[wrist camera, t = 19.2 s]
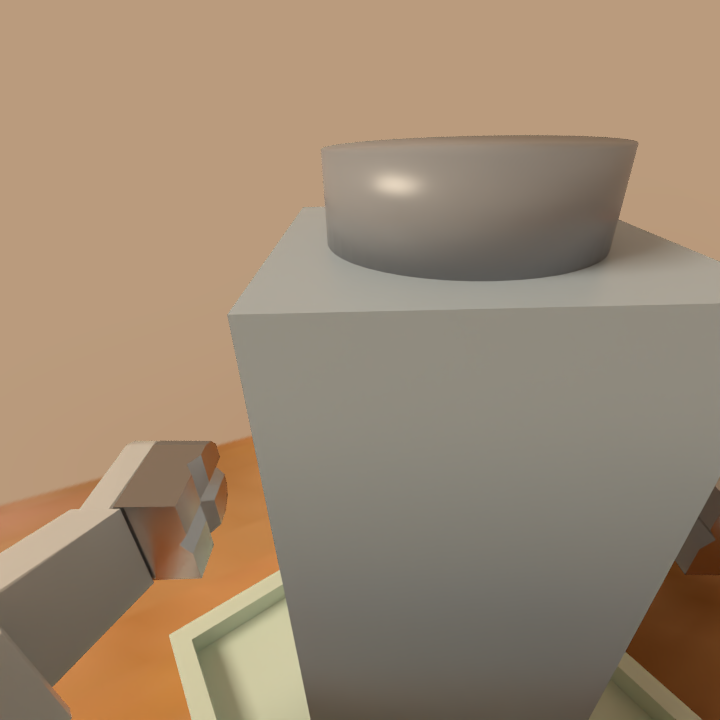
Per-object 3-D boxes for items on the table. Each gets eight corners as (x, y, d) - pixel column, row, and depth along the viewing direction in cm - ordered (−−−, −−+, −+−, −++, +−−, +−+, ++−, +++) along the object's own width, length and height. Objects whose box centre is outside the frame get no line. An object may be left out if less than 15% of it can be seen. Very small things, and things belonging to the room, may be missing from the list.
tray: (710, 774, 10) (736, 749, 10) (378, 1362, 6) (376, 1405, 5) (429, 506, 18) (431, 480, 17) (181, 661, 13) (168, 635, 12)
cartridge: (533, 820, 9) (897, 150, 3) (330, 817, 9) (198, 173, 3) (485, 612, 13) (583, 130, 6) (341, 613, 13) (296, 139, 7)
